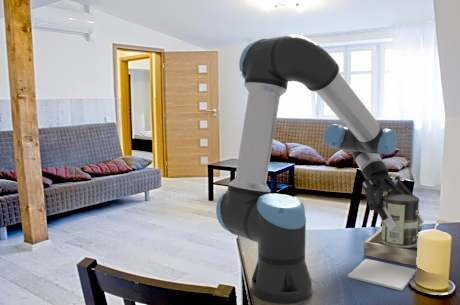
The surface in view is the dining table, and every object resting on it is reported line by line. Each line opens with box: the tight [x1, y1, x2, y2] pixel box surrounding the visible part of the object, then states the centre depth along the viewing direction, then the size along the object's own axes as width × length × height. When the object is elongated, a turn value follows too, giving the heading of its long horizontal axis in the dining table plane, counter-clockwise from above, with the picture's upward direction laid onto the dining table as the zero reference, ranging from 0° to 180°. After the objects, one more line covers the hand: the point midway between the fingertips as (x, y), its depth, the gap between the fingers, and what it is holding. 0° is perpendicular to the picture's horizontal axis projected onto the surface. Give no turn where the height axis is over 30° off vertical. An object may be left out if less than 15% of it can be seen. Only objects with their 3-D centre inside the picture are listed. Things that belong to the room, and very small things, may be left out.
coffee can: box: [381, 193, 420, 249], centre depth 130 cm, size 10×10×14 cm
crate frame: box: [363, 227, 419, 267], centre depth 131 cm, size 16×16×4 cm
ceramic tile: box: [347, 258, 416, 292], centre depth 115 cm, size 14×14×1 cm
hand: (407, 226), depth 127 cm, fingers closed on coffee can, 10 cm apart
